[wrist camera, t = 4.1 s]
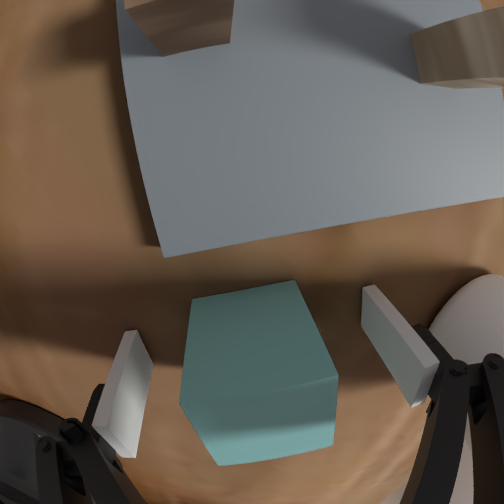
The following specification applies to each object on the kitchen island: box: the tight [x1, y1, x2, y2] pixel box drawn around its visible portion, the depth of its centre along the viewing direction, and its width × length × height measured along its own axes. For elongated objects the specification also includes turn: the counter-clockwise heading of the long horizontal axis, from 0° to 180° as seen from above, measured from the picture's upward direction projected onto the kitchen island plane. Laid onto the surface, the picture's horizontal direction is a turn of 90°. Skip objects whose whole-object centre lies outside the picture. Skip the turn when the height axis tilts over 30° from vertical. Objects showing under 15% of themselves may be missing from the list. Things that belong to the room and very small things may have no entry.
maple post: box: [410, 7, 504, 89], centre depth 6 cm, size 3×3×7 cm
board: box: [116, 0, 504, 258], centre depth 10 cm, size 20×13×1 cm, turn 99°
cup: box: [429, 274, 504, 451], centre depth 13 cm, size 10×10×10 cm
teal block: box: [179, 280, 338, 466], centre depth 12 cm, size 5×5×7 cm
